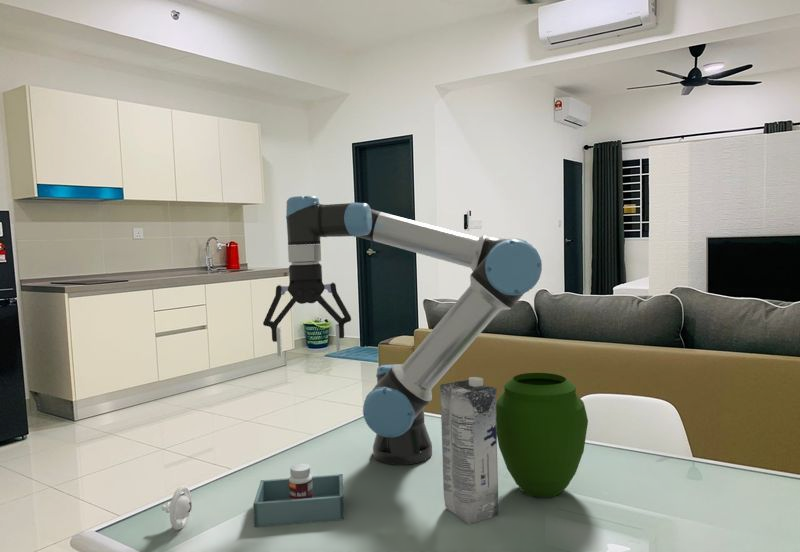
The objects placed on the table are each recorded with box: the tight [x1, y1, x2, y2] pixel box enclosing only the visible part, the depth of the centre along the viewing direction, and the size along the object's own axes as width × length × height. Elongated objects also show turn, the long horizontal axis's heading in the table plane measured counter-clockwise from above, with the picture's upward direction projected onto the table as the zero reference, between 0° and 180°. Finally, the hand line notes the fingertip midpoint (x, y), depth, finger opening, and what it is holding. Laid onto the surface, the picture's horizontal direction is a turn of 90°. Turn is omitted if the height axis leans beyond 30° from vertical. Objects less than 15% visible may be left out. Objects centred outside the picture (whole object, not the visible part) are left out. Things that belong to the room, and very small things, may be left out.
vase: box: [496, 372, 589, 499], centre depth 125 cm, size 20×20×24 cm
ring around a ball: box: [161, 485, 193, 531], centre depth 115 cm, size 8×6×8 cm
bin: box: [252, 473, 345, 528], centre depth 121 cm, size 17×11×5 cm, turn 96°
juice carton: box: [439, 376, 499, 525], centre depth 117 cm, size 9×10×27 cm
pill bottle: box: [289, 463, 313, 500], centre depth 121 cm, size 5×5×8 cm
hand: (309, 353), depth 138 cm, fingers open, 13 cm apart
